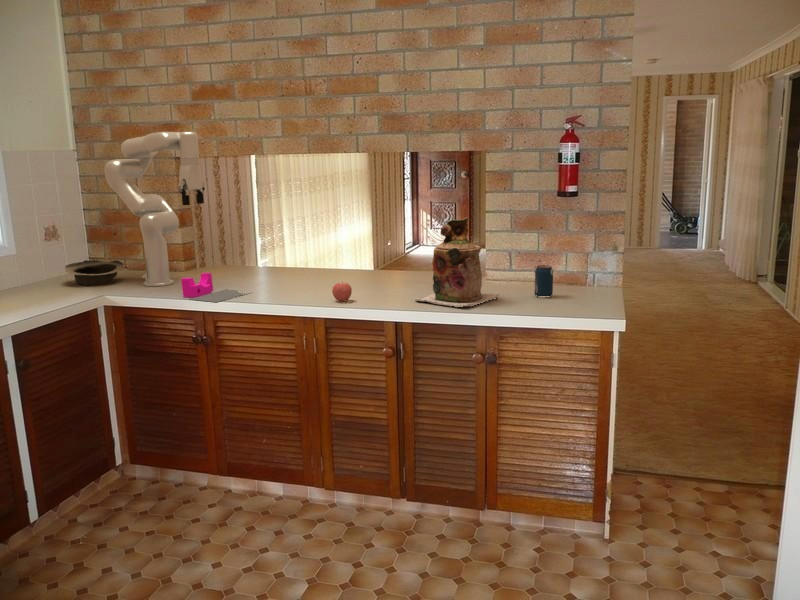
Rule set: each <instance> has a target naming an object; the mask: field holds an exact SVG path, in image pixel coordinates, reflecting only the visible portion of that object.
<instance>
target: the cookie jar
mask: <svg viewBox="0 0 800 600" xmlns="http://www.w3.org/2000/svg"><path fill="white" fill-rule="evenodd" d="M468 220H469V217H465V218H463V219H451V220H449V221H447V222H446V224H445V225H443V226H441V228H440V234H441V236H443V237H444V238H443V242H441V243H438V245H436V246H435V247H434V248H433V257H432V261H431V263H432V271H433V276H432V281H433V284H432V290H433V292H434V293H432V294H430V295H427V296H425V297H420V298H419V297H418V298H414V301H415V302H427V303H431V304H435V305H440V306H447V307H452V306H454V308H457V307H462V308H463V307H472V306H473V305H476V306H478V305H477V304H479V305H481V304H480V303H482V304H484V303H483V302H485V301H487V302H489V301H488V300H491V299H494V298H499V296H500V293H486V292H484V293H483V292H482V290H481V289H482V283H483V282H482V281H483V275H482V269H481V268H482V267H481V261H480V259H481V258H480V252H481V251H482V247H481V246H480V245H477V244H474V243H472V242H470V241H469V240H468V239H467V236H468V234H469V231H470V229H469V228H468V226H469V224H468ZM416 300H417V301H416ZM494 300H495V299H494ZM491 301H492V300H491ZM485 303H486V302H485Z"/></svg>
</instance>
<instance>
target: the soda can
mask: <svg viewBox="0 0 800 600" xmlns="http://www.w3.org/2000/svg"><path fill="white" fill-rule="evenodd" d="M553 292H554V270H553V266H552V265H548V264H547V265H544V264H543V265H540V264H539V265H536V268H535V270H534V296H536V295H537V296H551V295H552V296H553ZM552 296H551V297H552Z"/></svg>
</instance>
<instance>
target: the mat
mask: <svg viewBox="0 0 800 600" xmlns="http://www.w3.org/2000/svg"><path fill="white" fill-rule="evenodd" d="M237 290H238V289H236V290H235V289H228V288H227V289H223V290H222V289H221V290H217V291H214V292H212V293H208V294H205V295H202V296H199V297H190V298H188V300H189V301H196V302H197V301H198V302H206V303H208V302H209V303H219V302H220V301H221V302H223V300H224V301H227V300H226V299H228V300H231V299H234V298H233V297H235V298H238V297H237V296H239V297H241V296H240V295H242V296H244V295H243V294H242V293H243V292H242V293H239V292H238V291H239V290H238V291H237ZM244 294H245V293H244ZM230 298H231V299H230ZM221 302H220V303H221Z"/></svg>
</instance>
